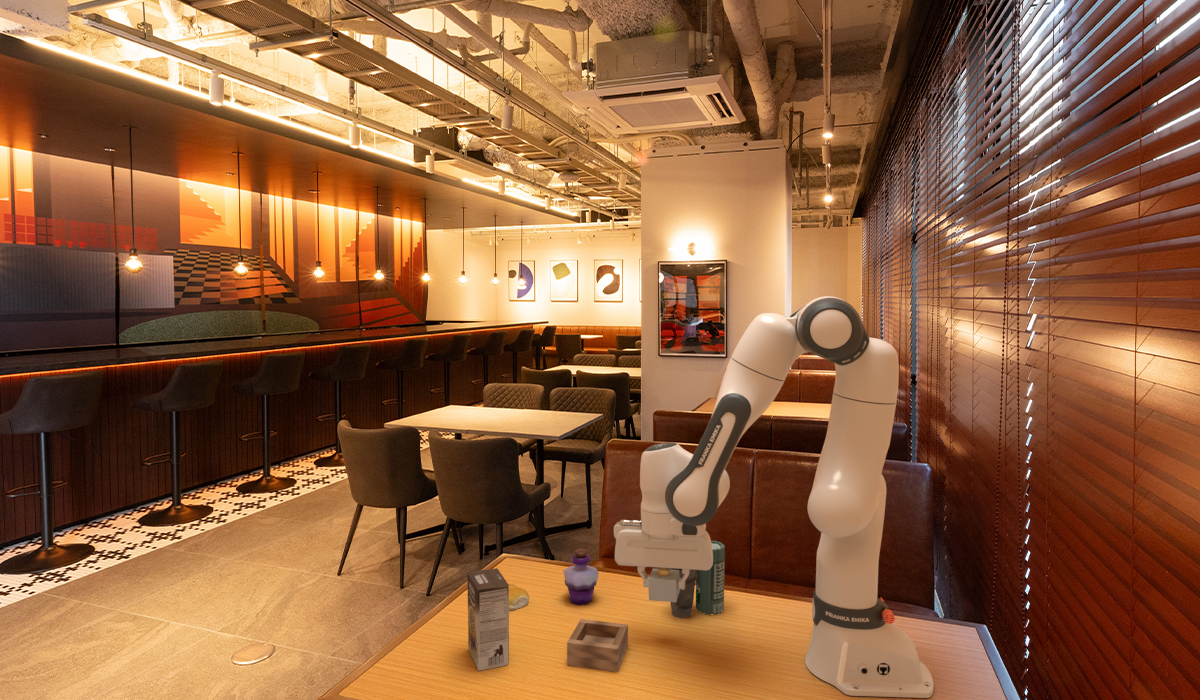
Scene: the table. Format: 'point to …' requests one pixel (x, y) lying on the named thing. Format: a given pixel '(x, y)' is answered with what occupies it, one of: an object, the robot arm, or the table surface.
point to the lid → (663, 585)
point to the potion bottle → (580, 578)
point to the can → (712, 583)
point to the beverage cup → (685, 596)
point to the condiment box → (597, 645)
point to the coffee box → (488, 618)
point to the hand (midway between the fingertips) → (664, 587)
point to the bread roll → (517, 597)
